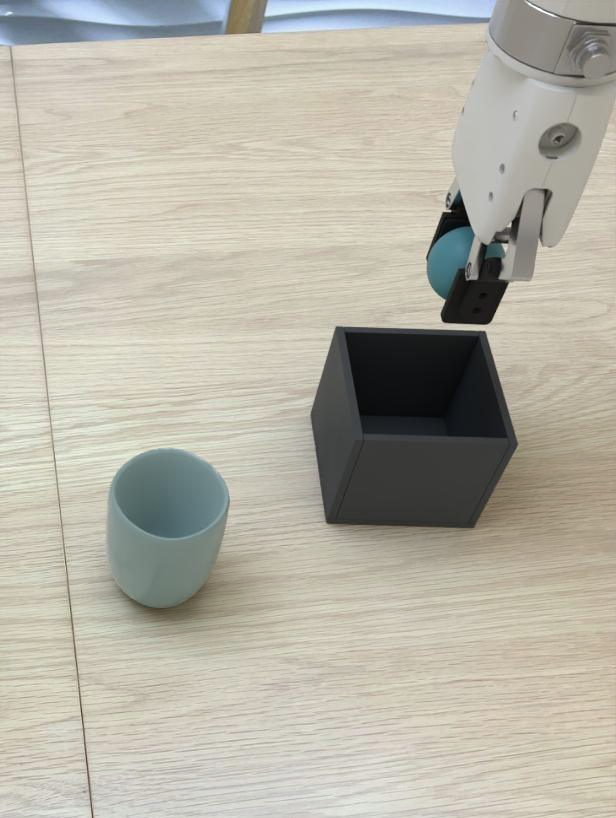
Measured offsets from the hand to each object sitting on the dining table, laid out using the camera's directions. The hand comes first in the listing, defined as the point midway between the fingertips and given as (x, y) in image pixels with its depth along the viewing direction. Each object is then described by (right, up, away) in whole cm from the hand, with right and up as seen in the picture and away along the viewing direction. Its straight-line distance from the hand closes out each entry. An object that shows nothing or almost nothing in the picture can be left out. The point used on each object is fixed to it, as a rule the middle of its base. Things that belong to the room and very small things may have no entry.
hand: (457, 290), depth 71 cm
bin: (0, -11, +14) cm, 18 cm away
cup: (-19, -19, +8) cm, 28 cm away
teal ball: (0, +1, -2) cm, 2 cm away
